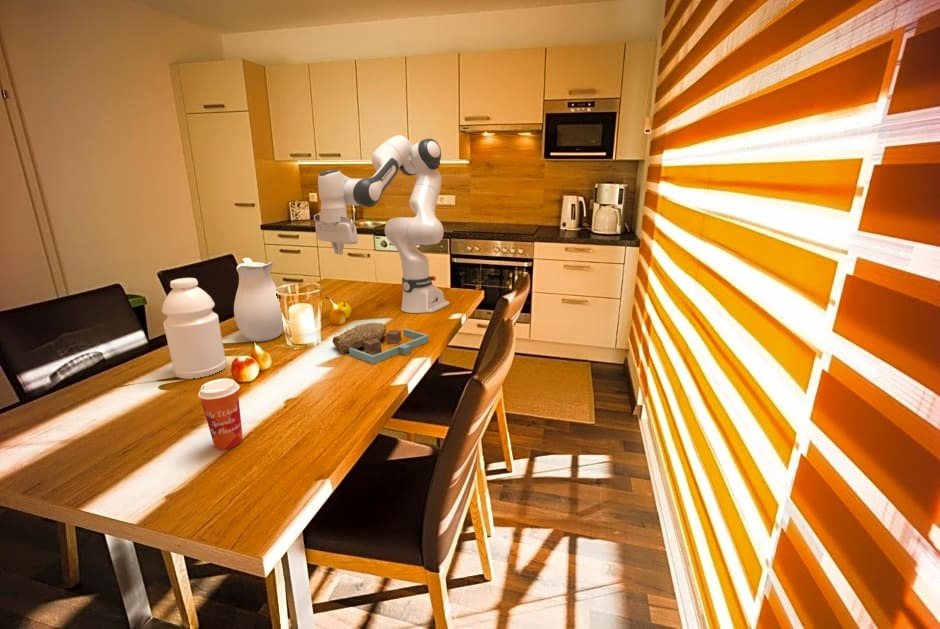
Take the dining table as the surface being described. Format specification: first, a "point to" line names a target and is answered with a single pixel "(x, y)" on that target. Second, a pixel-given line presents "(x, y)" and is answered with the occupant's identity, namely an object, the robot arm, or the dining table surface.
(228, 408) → the paper cup
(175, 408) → the dining table surface
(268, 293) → the pitcher
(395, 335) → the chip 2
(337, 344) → the rough brown rock
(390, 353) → the grey piece
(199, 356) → the bottle
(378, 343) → the chip
